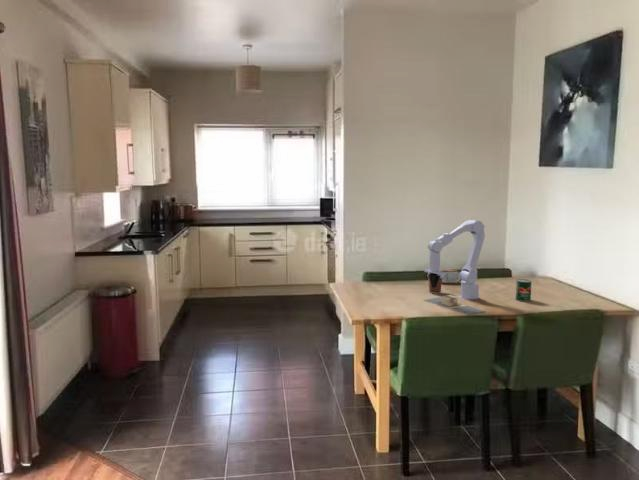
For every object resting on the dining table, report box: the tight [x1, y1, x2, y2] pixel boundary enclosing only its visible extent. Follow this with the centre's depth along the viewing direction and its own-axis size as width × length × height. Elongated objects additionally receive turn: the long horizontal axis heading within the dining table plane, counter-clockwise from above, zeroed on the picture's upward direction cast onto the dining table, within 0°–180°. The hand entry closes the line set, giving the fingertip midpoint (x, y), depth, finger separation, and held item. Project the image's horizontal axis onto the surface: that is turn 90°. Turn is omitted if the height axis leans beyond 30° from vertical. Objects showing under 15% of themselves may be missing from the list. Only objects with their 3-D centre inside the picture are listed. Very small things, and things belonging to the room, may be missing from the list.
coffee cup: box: [428, 273, 443, 295], centre depth 314 cm, size 9×9×12 cm
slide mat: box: [423, 296, 487, 316], centre depth 284 cm, size 12×34×1 cm, turn 30°
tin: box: [441, 269, 461, 284], centre depth 340 cm, size 15×3×8 cm, turn 92°
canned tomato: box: [515, 278, 533, 302], centre depth 297 cm, size 8×8×11 cm
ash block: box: [440, 294, 458, 306], centre depth 286 cm, size 6×6×4 cm
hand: (433, 287), depth 295 cm, fingers closed
